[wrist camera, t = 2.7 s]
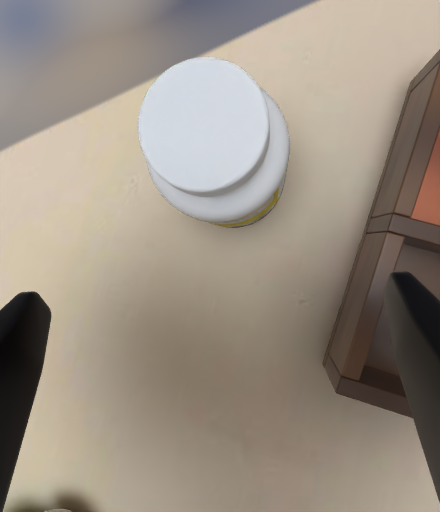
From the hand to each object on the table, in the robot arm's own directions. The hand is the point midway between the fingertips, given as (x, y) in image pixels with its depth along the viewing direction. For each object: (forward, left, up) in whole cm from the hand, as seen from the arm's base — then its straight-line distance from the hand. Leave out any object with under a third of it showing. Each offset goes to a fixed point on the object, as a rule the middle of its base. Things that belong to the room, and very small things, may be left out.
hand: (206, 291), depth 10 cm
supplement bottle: (+4, -3, -12) cm, 13 cm away
